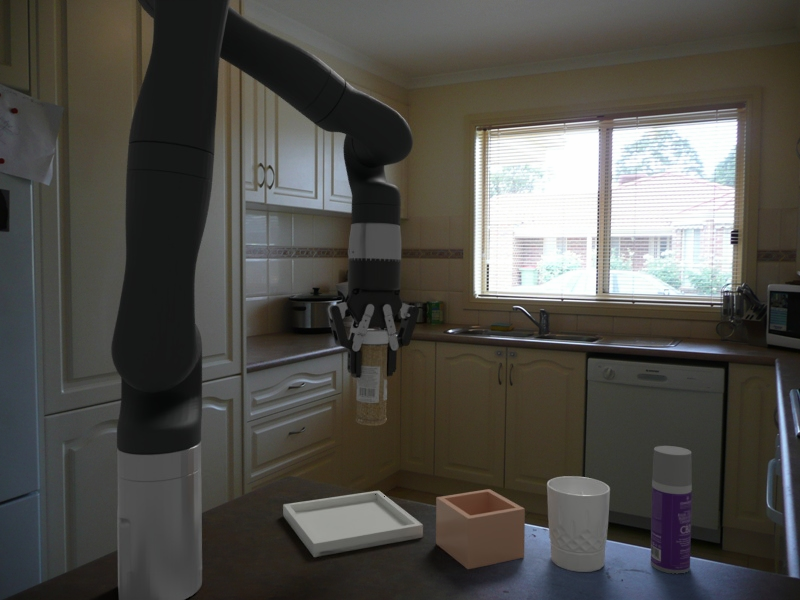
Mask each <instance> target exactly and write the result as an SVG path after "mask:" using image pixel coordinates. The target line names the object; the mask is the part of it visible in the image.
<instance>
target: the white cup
mask: <svg viewBox="0 0 800 600" xmlns="http://www.w3.org/2000/svg"><path fill="white" fill-rule="evenodd" d="M546 489H547V494H546V495H547V518H548V532H549V534H548V538H549V540H550V558H551V561H552V562H553V564H554V565H556V566H557V567H559V568H562V569H565V570H567V571H572V572H578V573H591V572H592V573H593V572H596V571H598V570H599V571H600V570H601V569H602V568H603V567H604V566H605V559H606V543H607V539H608V530H609V529H608V527H609V511H610V495H611V494H610V493H611V487H610V486H609V485H608V484H607V483H605V482H603V481H601V480H598V479H595V478H589V477H586V476H585V477H584V476H577V475H576V476H575V475H572V476H569V475H568V476H565V475H563V476H557V477H554V478H551V479H549V480H547V483H546Z"/></svg>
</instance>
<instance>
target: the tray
mask: <svg viewBox="0 0 800 600" xmlns="http://www.w3.org/2000/svg"><path fill="white" fill-rule="evenodd" d="M375 494H376V495H375ZM384 496H385V497H384ZM282 509H283V510H282V515H283V518H284V520H285V521H286V522H287V524H288V525H289V526H290V527H291V529H292V530H293V531H294V533H295V534H296V535H297V536H298V538H299V539H300V540H301V542H302V543H303V544H304V546H305V547H306V549H307V550H308V551H309V553H310V554H311V555H312V556H313V558H317V557H322V556H328V555H329V556H330V555H334V554H339V553H340V554H341V553H346V552H351V551H356V550H361V549H367V548H373V547H377V546H384V545H387V544H389V545H390V544H394V543H400V542H404V541H405V542H406V541H411V540H417V539H420V538H424V532H423V531H424V525H423V523H421V521H419V520H418V519H416V518H415V517H413V515H411V514H410V513H408V512H407V511H406V510H405V509H404V508H402V507H401V506H400V505H398V503H396V502H394V501H393V500H392V499H390V498H389V497H388V496H386V495H385V494H384V493H383V492H381V491H380V490H374V491H373V490H372V491H366V492H361V493H353V494H346V495H345V494H344V495H340V496H332V497H326V498H319V499H312V500H305V501H299V502H292V503H291V502H290V503H284V504H283V506H282Z"/></svg>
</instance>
